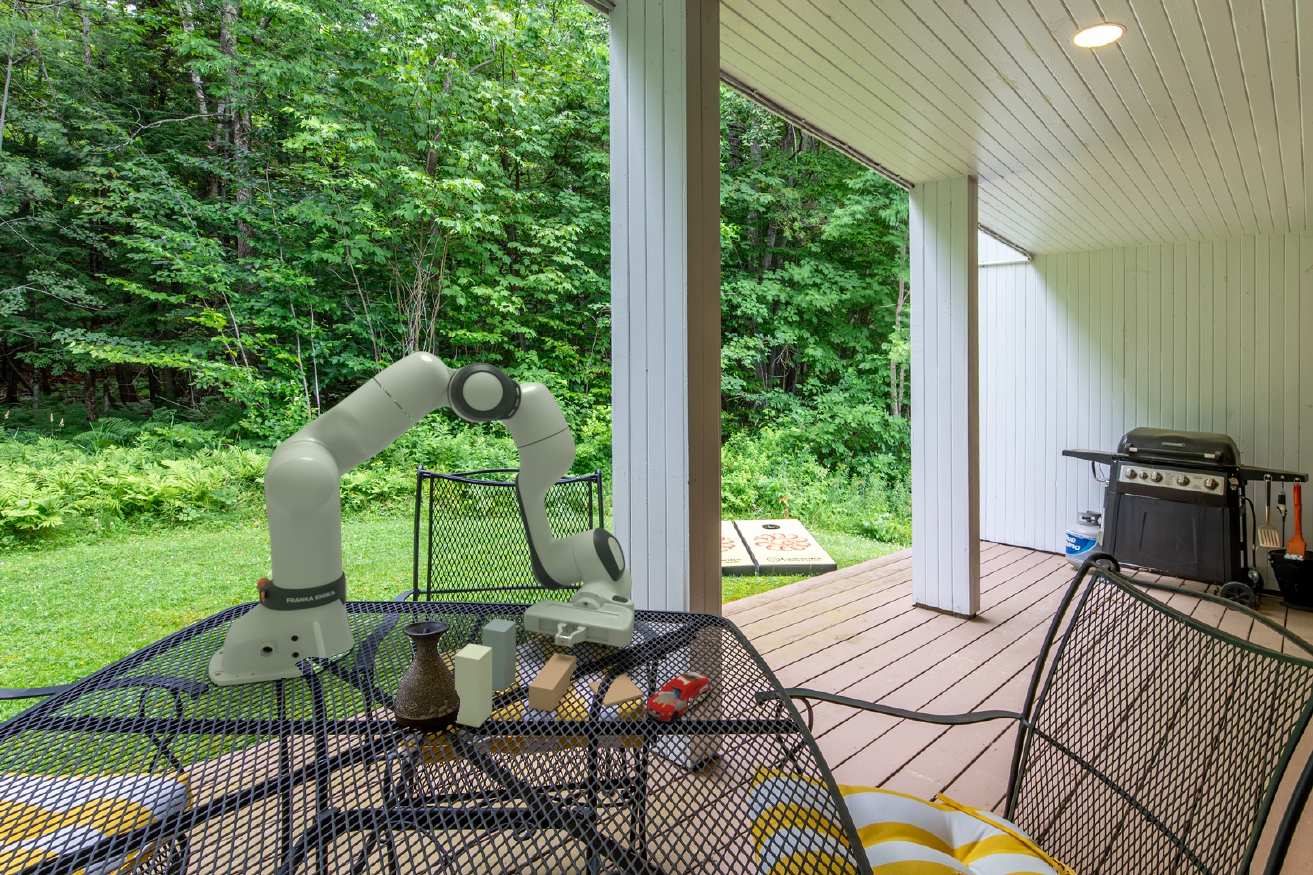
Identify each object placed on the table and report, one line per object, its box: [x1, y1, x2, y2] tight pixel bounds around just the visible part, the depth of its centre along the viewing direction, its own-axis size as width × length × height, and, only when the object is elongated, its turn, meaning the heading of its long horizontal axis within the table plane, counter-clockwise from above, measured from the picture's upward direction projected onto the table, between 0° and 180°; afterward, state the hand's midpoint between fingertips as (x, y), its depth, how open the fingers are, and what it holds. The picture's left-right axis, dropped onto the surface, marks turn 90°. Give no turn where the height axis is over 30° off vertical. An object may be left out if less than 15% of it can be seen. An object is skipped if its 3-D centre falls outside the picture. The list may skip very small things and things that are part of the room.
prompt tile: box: [587, 673, 645, 708], centre depth 107 cm, size 7×7×1 cm
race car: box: [646, 671, 711, 723], centre depth 104 cm, size 13×5×4 cm, turn 139°
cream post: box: [454, 643, 493, 729], centre depth 97 cm, size 4×4×11 cm
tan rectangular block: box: [528, 652, 577, 712], centre depth 106 cm, size 4×4×11 cm
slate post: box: [481, 617, 517, 691], centre depth 106 cm, size 4×4×11 cm
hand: (562, 642), depth 109 cm, fingers closed
